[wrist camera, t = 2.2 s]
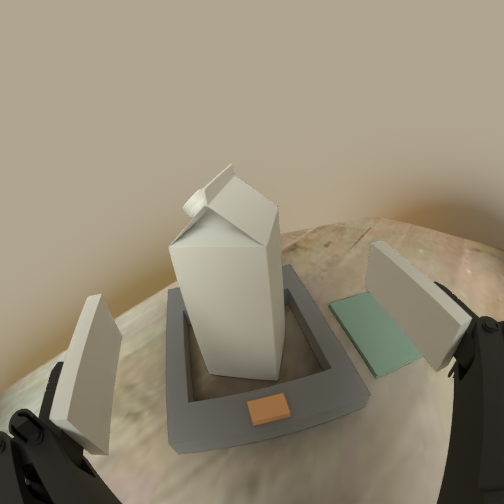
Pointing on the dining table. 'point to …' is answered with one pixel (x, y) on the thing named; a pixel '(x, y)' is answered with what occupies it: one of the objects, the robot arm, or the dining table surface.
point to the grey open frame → (265, 399)
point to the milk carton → (233, 278)
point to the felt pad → (374, 334)
